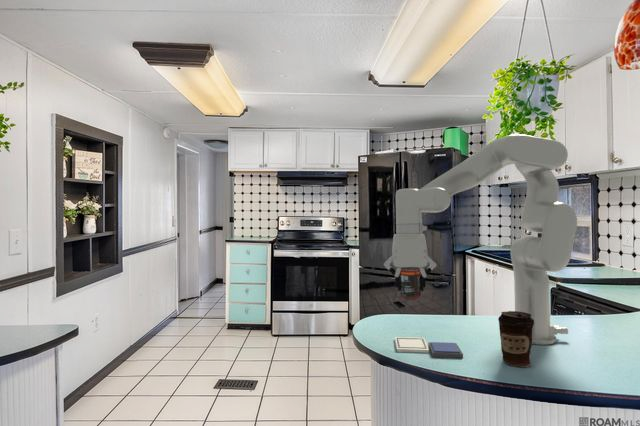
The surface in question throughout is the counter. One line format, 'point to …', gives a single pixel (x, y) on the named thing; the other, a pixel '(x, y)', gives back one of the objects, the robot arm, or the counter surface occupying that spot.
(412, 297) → the supplement bottle
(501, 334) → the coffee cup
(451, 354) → the ink pad
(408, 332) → the counter surface
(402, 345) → the board
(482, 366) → the counter surface
